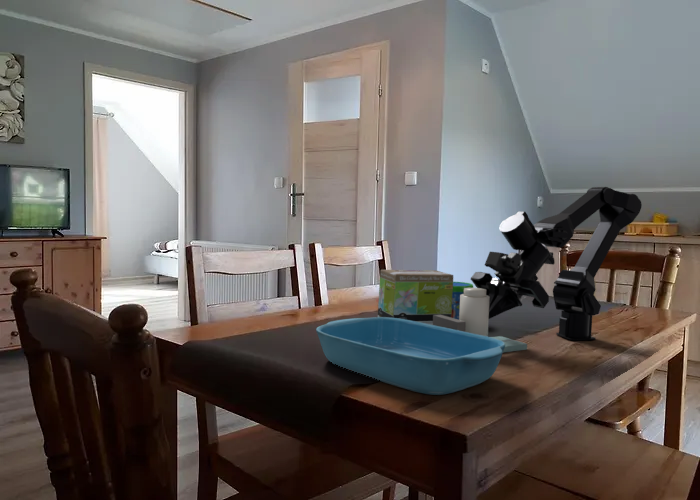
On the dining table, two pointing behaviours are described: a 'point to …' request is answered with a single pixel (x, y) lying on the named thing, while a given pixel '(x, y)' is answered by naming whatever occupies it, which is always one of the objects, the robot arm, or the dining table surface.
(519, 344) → the stud rail
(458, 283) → the snack cup
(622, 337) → the dining table surface
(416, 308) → the tea box
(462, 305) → the white pill bottle
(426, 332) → the casserole dish
